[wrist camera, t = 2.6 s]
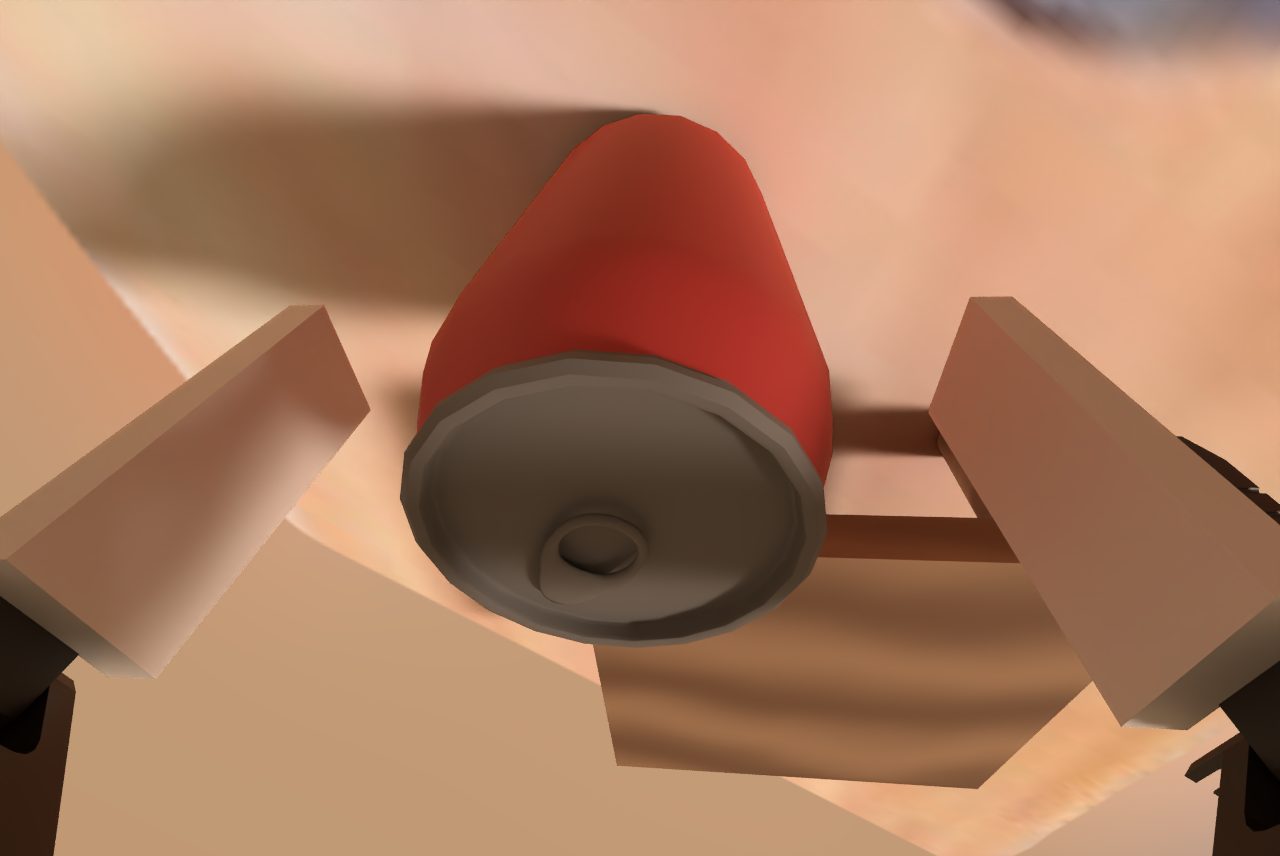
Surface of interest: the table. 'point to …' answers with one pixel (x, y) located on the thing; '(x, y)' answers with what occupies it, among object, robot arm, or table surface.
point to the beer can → (628, 404)
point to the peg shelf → (861, 665)
